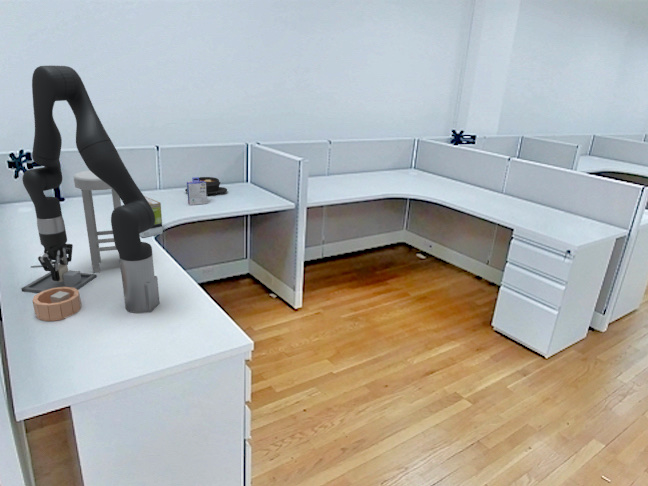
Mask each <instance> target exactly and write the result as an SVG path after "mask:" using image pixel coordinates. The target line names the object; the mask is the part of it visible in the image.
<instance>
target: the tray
mask: <svg viewBox="0 0 648 486" xmlns="http://www.w3.org/2000/svg"><path fill="white" fill-rule="evenodd" d="M80 274H81V281H82V282H80V283H79V284H77V285H76V286H74V287H73V288H75V289H77V290H80V289H82V288H83V287H85V286H86V285H87V284H89V283H90V282H92V281H93V280H95V279H96V278H97V277H98V275H97V274H98V273H88V272H80ZM57 287H65V284H64V281H63V282H61V281H52V276H51V272H50V271H48V272H47V273H46V274H44V275H42V276H40V277H39V278H37V279H35V280H33V281H32V282H29V283H28V284H26V285H25V286H23V287H21V288H20V289H21V292H24V293H25V292H26V293H33V294H38V293H40V292H42V291H45V290H48V289H51V288H57Z"/></svg>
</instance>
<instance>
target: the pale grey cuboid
mask: <svg viewBox="0 0 648 486" xmlns="http://www.w3.org/2000/svg"><path fill="white" fill-rule="evenodd" d="M50 298H51V303H57V302H62V301H65V300H68V299H69V298H70V293H67V292H62V291H59V292H57V293H55V294H53V295H51V296H50Z"/></svg>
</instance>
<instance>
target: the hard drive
mask: <svg viewBox="0 0 648 486" xmlns="http://www.w3.org/2000/svg"><path fill="white" fill-rule="evenodd" d="M43 255H44V253H42V254H40V255H39V256H41V257H42V256H43ZM52 261H55V260H52ZM53 266H54V264H53ZM32 268H43V267H42V265H41V263H40V262H39V260H38V258H37V259H36V260H35V261H34V262H33V263H32V265H30V269H32Z"/></svg>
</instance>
